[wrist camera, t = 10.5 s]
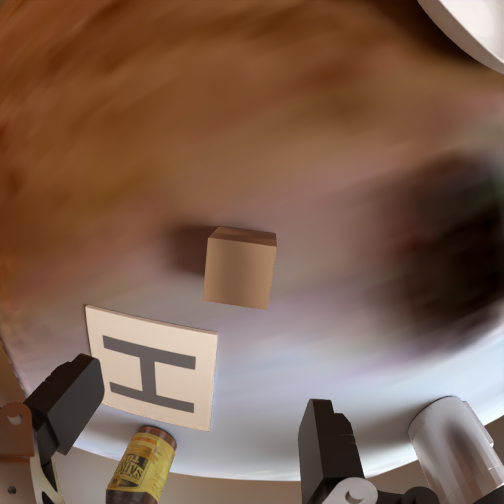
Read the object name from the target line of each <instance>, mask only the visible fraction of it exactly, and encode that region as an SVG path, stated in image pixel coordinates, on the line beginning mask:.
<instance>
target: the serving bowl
mask: <svg viewBox="0 0 504 504" xmlns="http://www.w3.org/2000/svg"><path fill="white" fill-rule="evenodd" d="M417 1H418V3H419V4H420V6H421V7H422V8H423V10H424V11H425V12H426V13H427V15H428V16H429V17H430V18H431V20H432V21H433V22H434V23H435V24H436V25H437V26H438V27H439V28H440V29H441V30H442V31H443V32H444V33H445V35H446V36H448V37H449V38H450V39H451V40H452V41H453V42H454V43H455V44H456V45H458V46H459V47H460V48H461V49H462V50H464V51H465V52H466V53H467V54H469V55H470V56H471V57H473V58H474V59H476V60H477V61H479V62H480V63H482V64H484V65H485V66H487V67H489V68H491V69H493V70H495V71H497V72H499V73H502V74H504V0H417Z"/></svg>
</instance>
